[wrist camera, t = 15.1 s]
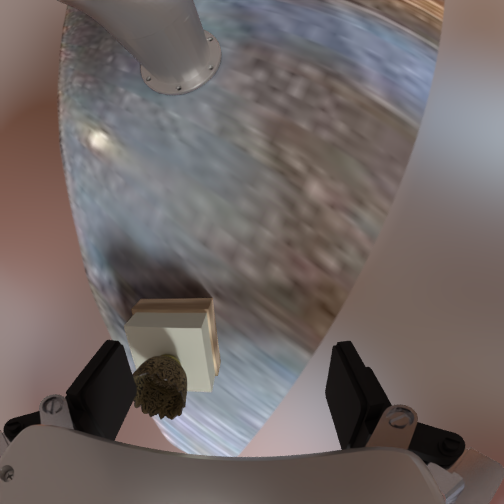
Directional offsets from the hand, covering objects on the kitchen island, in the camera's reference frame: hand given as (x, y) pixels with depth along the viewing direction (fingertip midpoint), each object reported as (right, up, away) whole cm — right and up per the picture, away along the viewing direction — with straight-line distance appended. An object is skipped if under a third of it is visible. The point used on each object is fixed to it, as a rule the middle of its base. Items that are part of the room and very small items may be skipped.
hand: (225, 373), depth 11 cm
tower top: (-10, -9, +28) cm, 31 cm away
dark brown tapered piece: (-10, -10, +23) cm, 27 cm away
